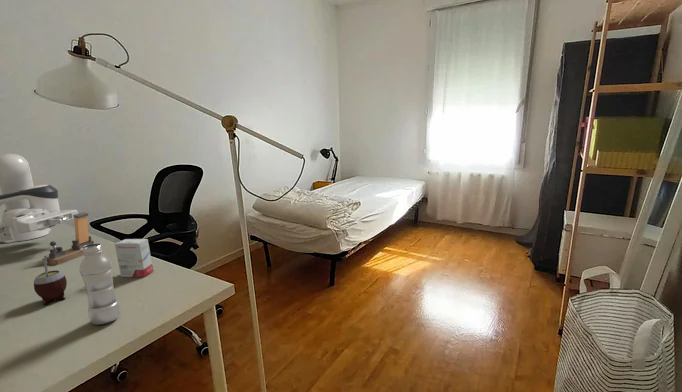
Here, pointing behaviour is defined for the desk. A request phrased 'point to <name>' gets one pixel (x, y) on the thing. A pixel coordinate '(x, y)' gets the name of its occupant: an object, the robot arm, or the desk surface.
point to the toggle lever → (53, 245)
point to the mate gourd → (50, 285)
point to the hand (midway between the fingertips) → (64, 220)
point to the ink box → (134, 257)
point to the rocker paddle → (81, 227)
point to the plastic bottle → (99, 285)
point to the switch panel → (67, 252)
